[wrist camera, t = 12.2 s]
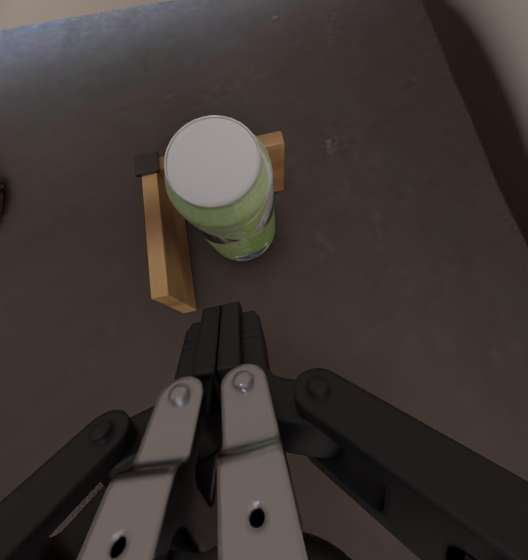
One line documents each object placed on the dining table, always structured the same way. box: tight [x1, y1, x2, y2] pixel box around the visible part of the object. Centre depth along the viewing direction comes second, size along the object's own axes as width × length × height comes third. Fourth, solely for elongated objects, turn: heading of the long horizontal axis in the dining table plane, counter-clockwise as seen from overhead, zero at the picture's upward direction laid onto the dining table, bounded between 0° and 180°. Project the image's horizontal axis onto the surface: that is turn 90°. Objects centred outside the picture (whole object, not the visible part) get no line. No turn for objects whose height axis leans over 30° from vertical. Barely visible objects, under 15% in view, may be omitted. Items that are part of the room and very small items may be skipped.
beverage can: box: [164, 115, 275, 261], centre depth 19 cm, size 6×7×12 cm
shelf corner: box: [134, 131, 284, 313], centre depth 22 cm, size 12×12×6 cm
